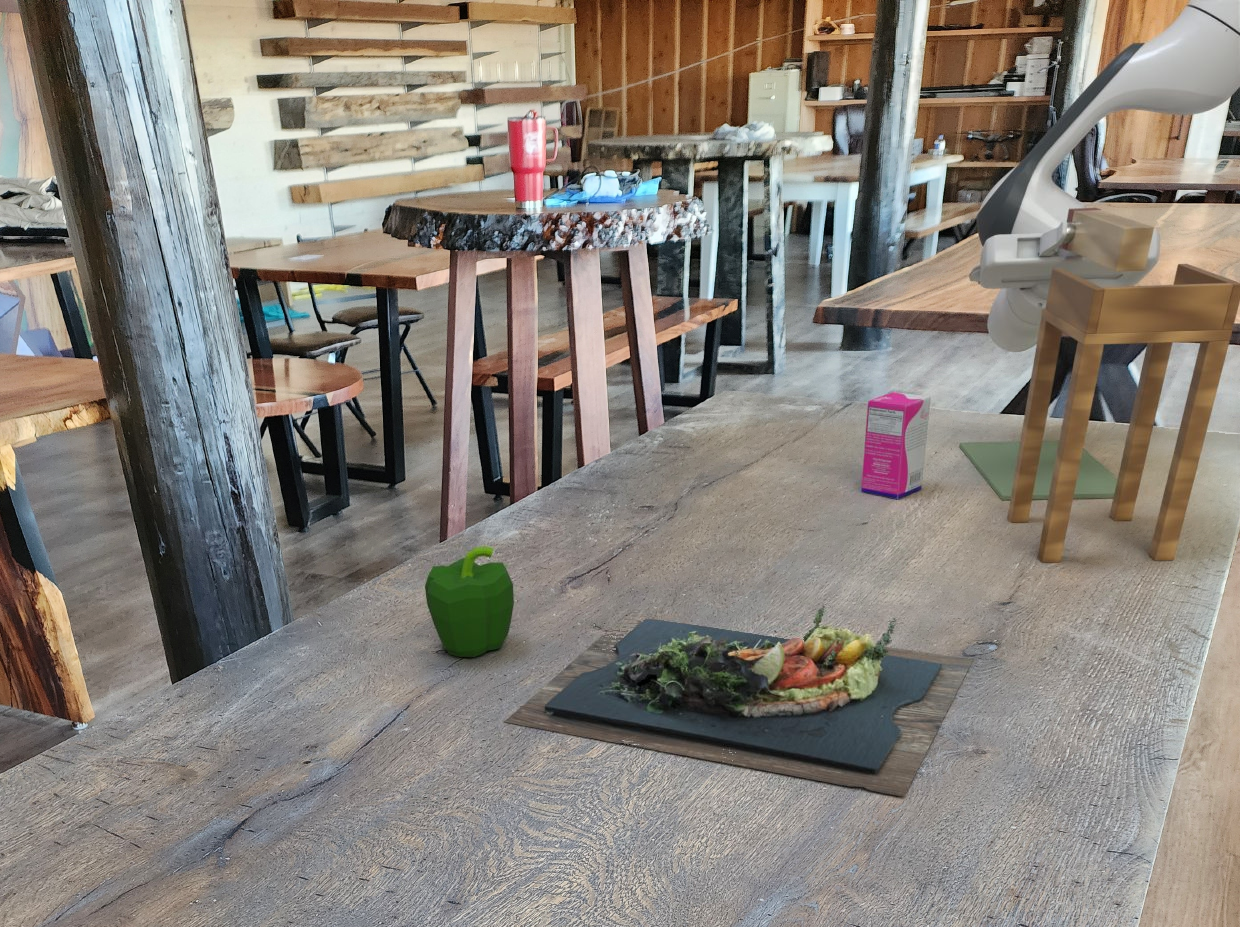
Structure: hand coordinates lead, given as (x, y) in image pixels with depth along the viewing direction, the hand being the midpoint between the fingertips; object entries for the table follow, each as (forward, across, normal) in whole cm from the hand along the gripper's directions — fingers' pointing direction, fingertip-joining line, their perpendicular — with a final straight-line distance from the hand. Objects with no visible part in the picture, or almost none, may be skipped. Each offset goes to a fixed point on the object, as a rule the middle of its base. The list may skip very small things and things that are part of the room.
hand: (1089, 226), depth 134 cm
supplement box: (-15, -19, +26) cm, 35 cm away
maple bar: (+4, 0, +5) cm, 7 cm away
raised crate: (+2, 0, +35) cm, 35 cm away
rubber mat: (-22, +2, +21) cm, 31 cm away
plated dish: (+37, -41, +55) cm, 78 cm away
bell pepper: (+28, -67, +50) cm, 88 cm away
